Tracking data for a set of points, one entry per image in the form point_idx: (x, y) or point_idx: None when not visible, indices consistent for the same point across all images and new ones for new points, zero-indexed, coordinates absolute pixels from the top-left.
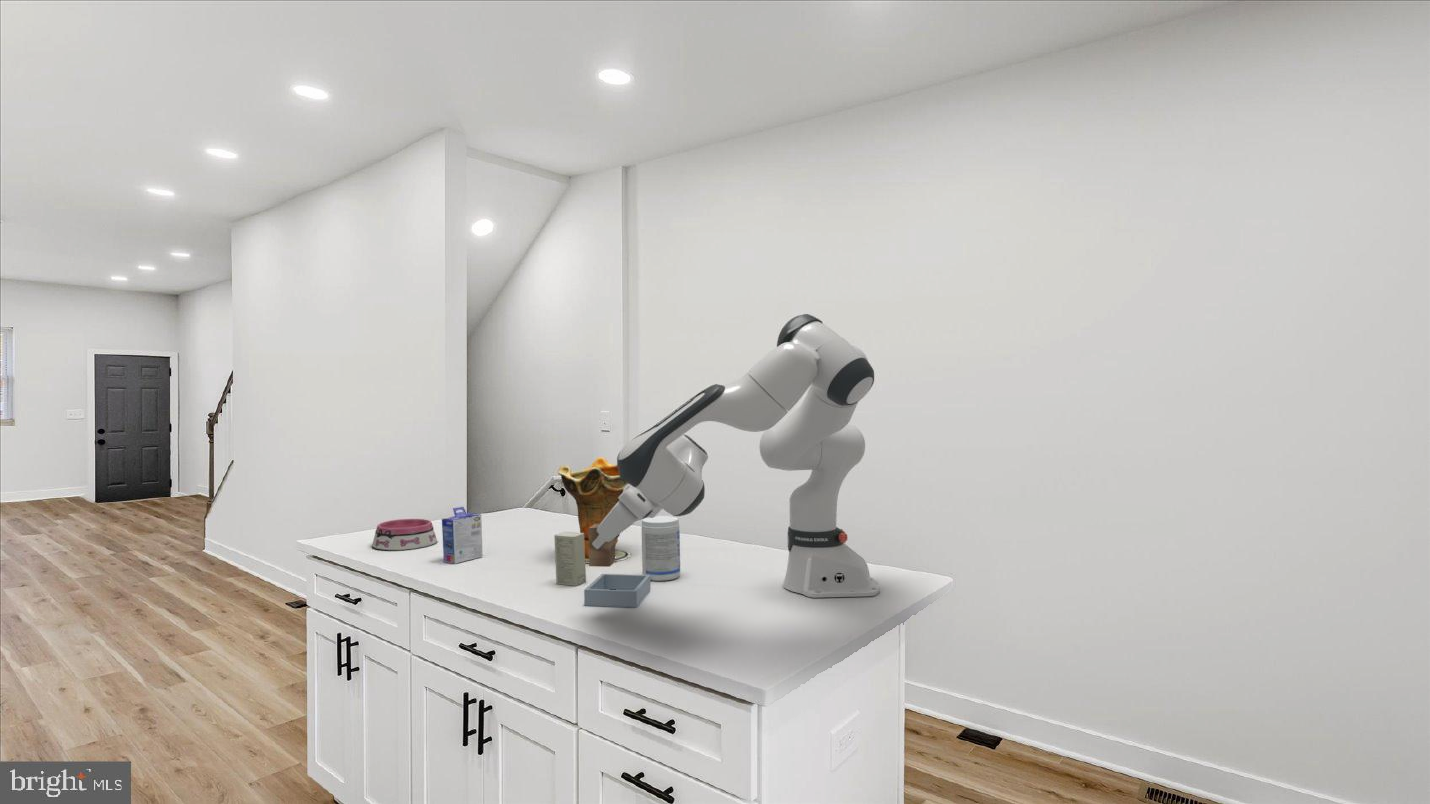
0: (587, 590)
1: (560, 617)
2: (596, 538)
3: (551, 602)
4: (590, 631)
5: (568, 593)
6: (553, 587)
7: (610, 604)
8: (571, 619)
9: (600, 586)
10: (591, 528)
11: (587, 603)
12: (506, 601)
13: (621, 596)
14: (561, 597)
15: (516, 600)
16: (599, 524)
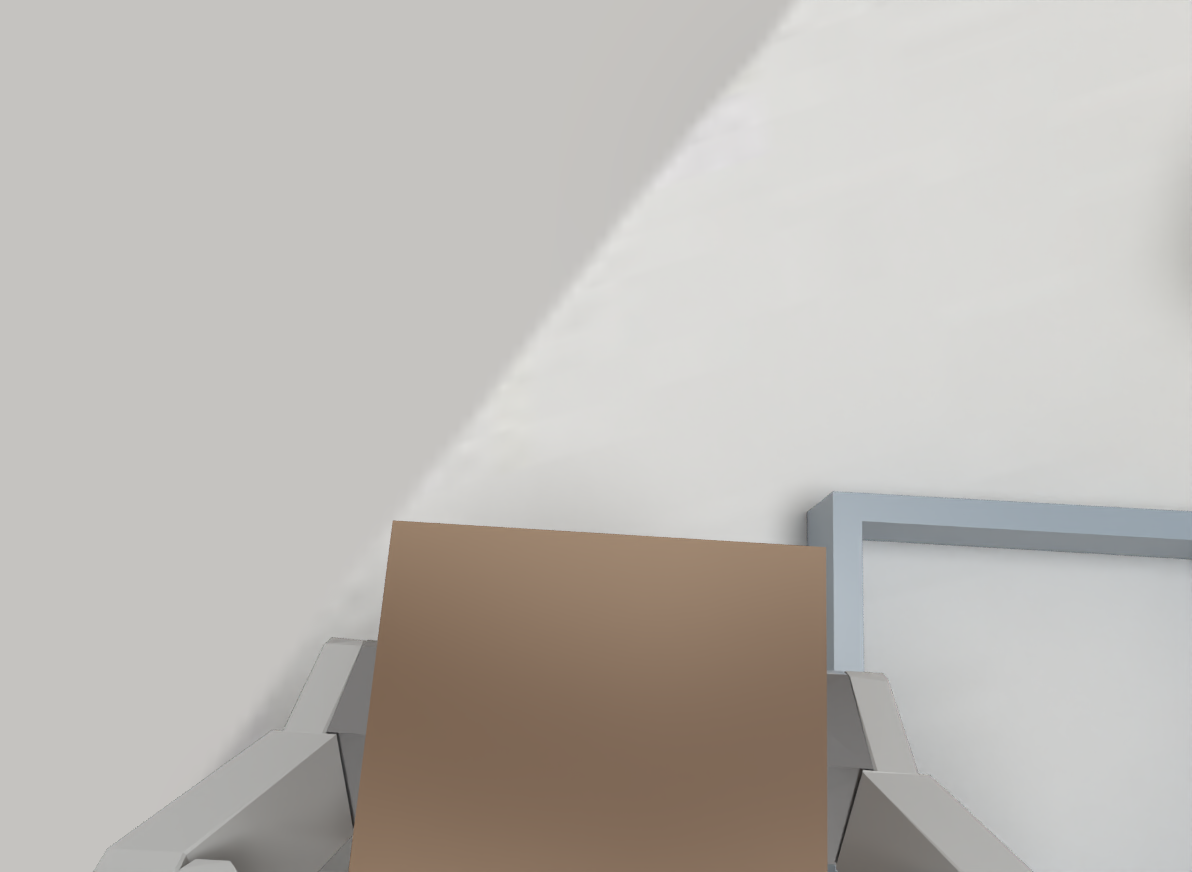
0: (830, 518)
1: (555, 424)
2: (290, 716)
3: (851, 283)
4: (291, 684)
5: (1066, 333)
6: (1184, 198)
7: None
8: (519, 502)
9: (1143, 548)
10: (388, 583)
11: (809, 531)
12: (837, 29)
13: None
14: (967, 313)
15: (864, 74)
16: (786, 661)
